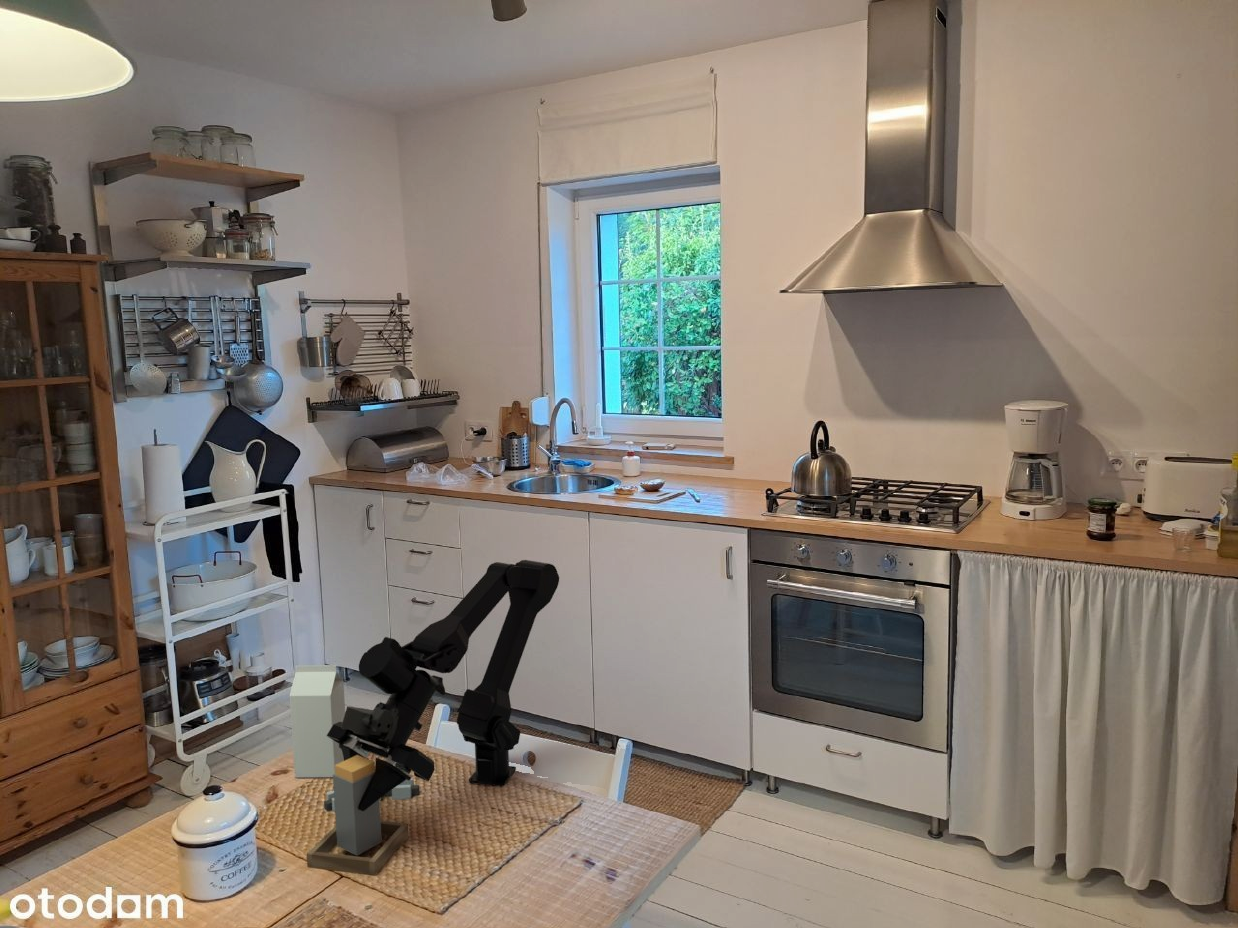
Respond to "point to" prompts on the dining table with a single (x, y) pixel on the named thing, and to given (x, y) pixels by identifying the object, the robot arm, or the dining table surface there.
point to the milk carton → (316, 719)
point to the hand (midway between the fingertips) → (349, 805)
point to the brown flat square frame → (352, 863)
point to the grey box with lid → (355, 806)
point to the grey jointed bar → (398, 792)
